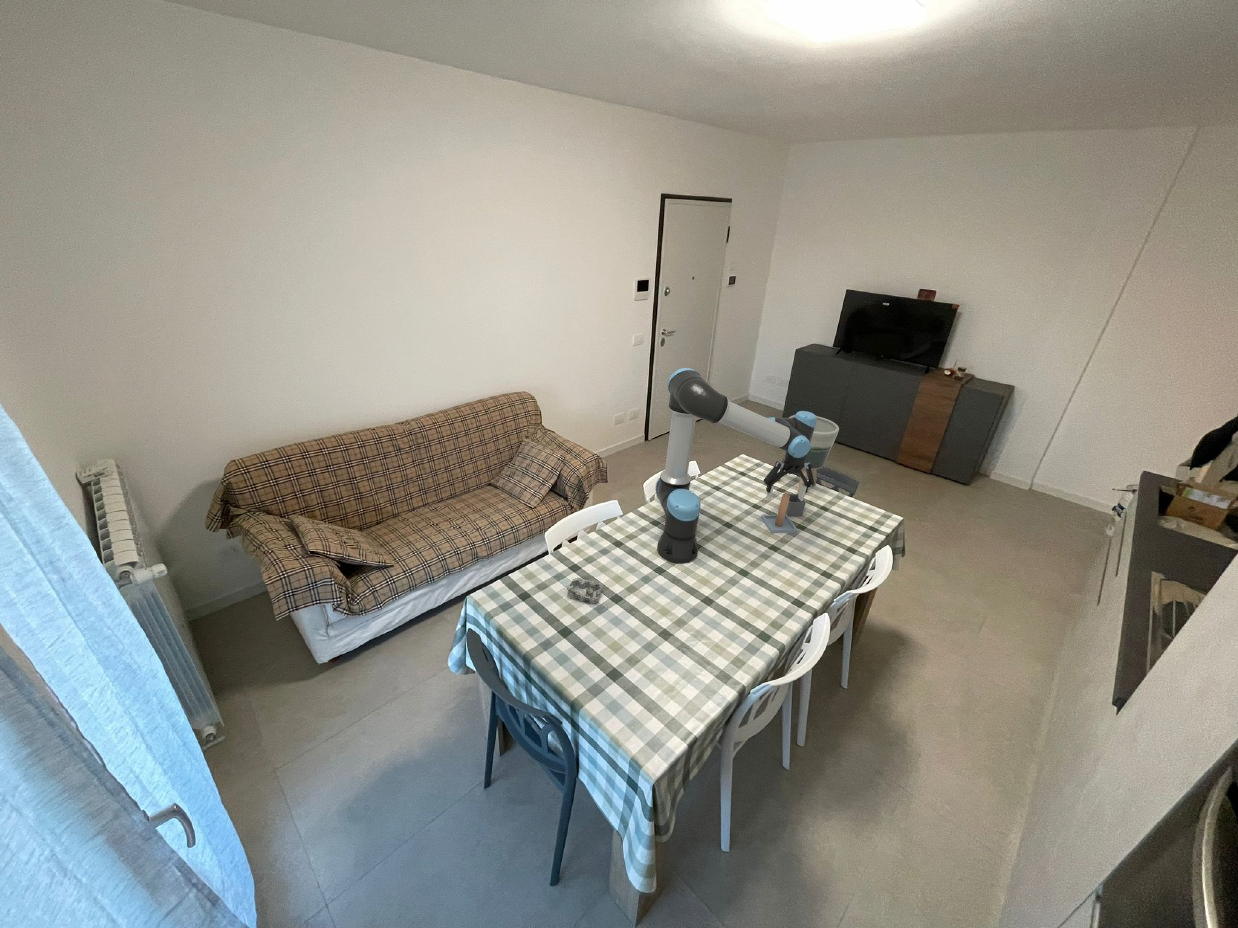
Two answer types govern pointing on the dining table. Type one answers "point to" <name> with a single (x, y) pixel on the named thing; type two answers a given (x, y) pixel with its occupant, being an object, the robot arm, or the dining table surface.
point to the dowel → (782, 510)
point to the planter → (819, 446)
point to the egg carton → (590, 587)
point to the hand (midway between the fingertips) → (784, 499)
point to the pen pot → (795, 506)
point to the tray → (770, 523)
